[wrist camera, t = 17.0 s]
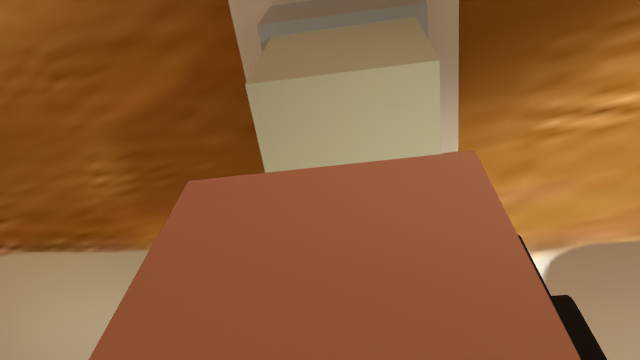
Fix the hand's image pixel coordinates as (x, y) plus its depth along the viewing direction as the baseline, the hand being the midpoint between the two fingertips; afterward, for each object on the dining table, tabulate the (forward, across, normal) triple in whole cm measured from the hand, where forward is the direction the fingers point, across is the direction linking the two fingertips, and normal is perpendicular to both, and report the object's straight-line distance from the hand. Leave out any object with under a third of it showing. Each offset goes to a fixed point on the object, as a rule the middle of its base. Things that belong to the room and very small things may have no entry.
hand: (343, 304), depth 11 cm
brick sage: (+13, 0, 0) cm, 13 cm away
